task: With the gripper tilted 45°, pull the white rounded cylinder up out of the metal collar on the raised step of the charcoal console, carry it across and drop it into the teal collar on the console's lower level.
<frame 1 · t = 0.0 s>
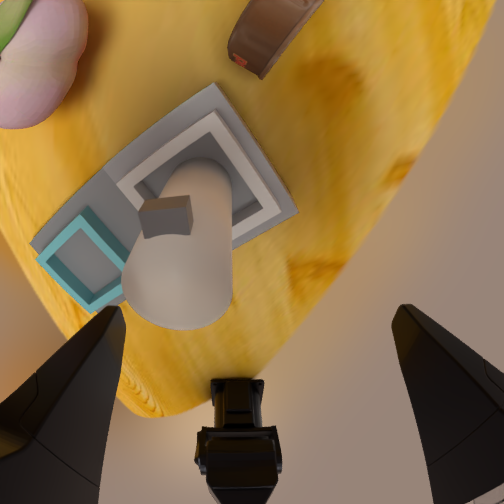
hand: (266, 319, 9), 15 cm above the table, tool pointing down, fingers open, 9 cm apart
console: (141, 216, 23), on the table
white rounded cylinder: (200, 187, 19), point 3 cm above the table, touching console
decorative fruit: (61, 55, 15), on the table
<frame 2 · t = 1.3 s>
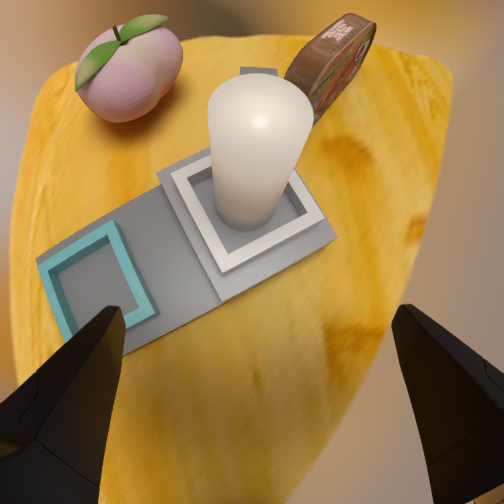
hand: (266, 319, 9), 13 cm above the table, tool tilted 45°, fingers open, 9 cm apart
tin: (319, 94, 27), on the table
console: (170, 254, 22), on the table
white rounded cylinder: (245, 202, 20), point 3 cm above the table, touching console
decorative fruit: (138, 106, 25), on the table
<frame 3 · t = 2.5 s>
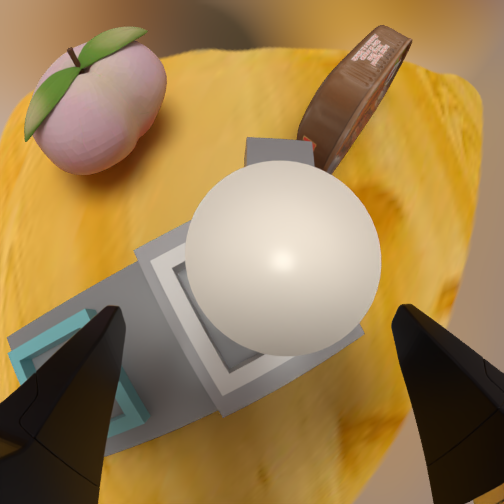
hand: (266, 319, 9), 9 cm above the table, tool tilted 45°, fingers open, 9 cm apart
tin: (340, 127, 22), on the table
console: (159, 345, 18), on the table
white rounded cylinder: (250, 295, 16), point 3 cm above the table, touching console
decorative fruit: (115, 144, 20), on the table
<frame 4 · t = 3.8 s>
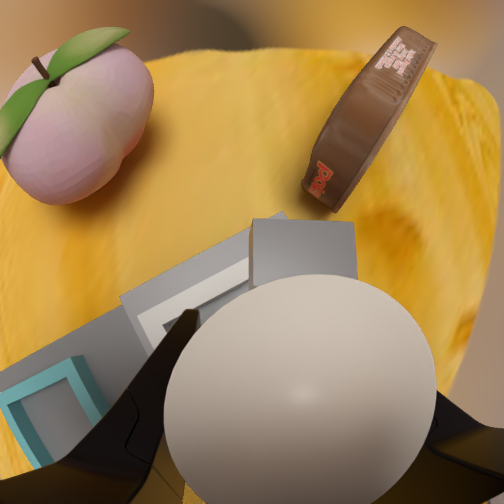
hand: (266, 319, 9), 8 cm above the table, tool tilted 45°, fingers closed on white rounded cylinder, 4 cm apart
tin: (353, 140, 20), on the table
console: (153, 392, 15), on the table
white rounded cylinder: (253, 349, 13), point 3 cm above the table, touching console, gripper
decorative fruit: (100, 162, 18), on the table
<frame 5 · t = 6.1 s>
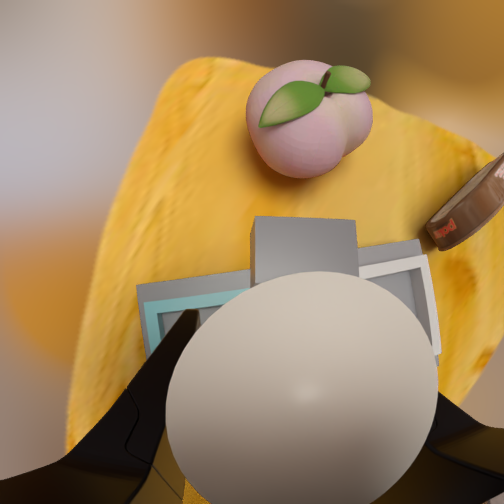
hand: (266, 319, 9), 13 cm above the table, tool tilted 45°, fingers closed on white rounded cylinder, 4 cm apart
tin: (454, 207, 26), on the table
console: (292, 333, 22), on the table
white rounded cylinder: (254, 348, 13), point 8 cm above the table, touching gripper
decorative fruit: (291, 151, 25), on the table
when the fingers open (7 cm above the table, at t = 8.2 s): white rounded cylinder stays where it is, resting on console.
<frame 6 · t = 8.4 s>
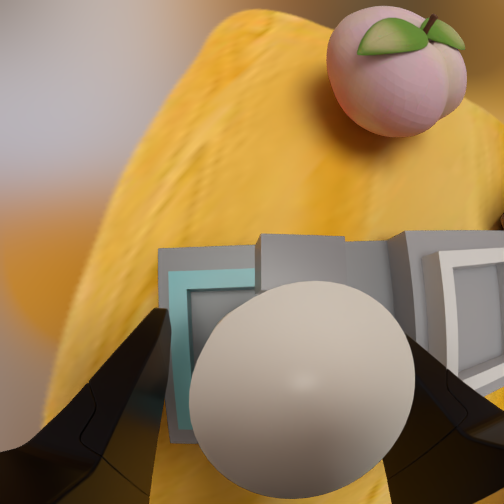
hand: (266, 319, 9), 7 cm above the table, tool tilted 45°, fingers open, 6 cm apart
console: (361, 334, 16), on the table
white rounded cylinder: (251, 347, 14), point 1 cm above the table, touching console
decorative fruit: (364, 115, 19), on the table
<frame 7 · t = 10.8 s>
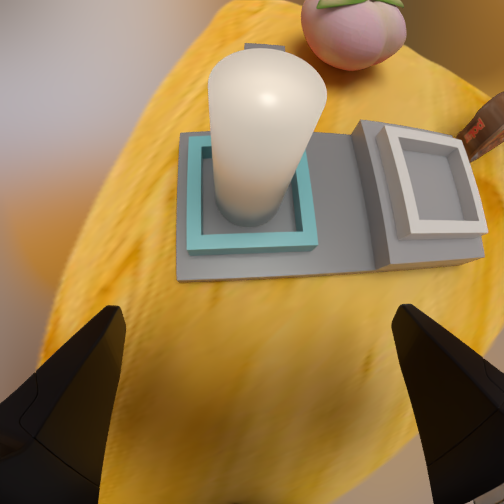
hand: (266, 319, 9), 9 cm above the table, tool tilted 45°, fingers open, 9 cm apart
tin: (479, 140, 24), on the table
console: (336, 201, 20), on the table
white rounded cylinder: (248, 196, 19), point 1 cm above the table, touching console
decorative fruit: (334, 63, 24), on the table
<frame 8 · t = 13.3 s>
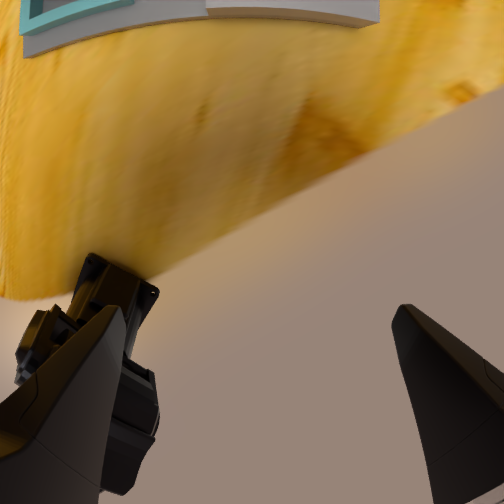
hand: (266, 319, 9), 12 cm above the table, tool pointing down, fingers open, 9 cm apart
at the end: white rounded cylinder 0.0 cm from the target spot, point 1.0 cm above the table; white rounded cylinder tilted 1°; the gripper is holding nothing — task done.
